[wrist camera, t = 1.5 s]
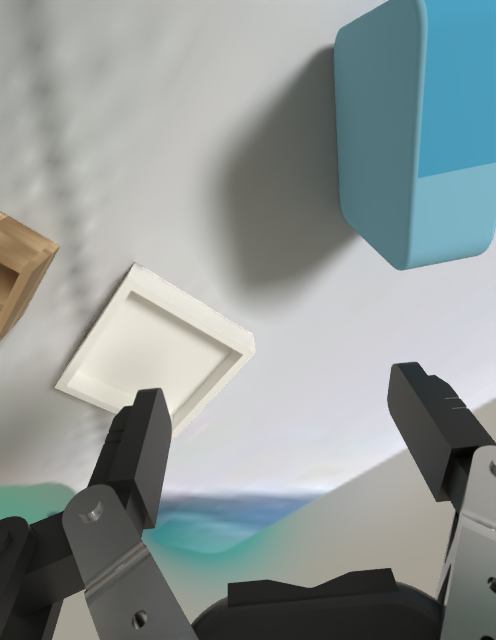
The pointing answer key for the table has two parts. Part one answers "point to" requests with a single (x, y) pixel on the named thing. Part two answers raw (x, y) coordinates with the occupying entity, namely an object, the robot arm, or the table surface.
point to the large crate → (156, 350)
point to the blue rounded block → (418, 129)
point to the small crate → (20, 268)
